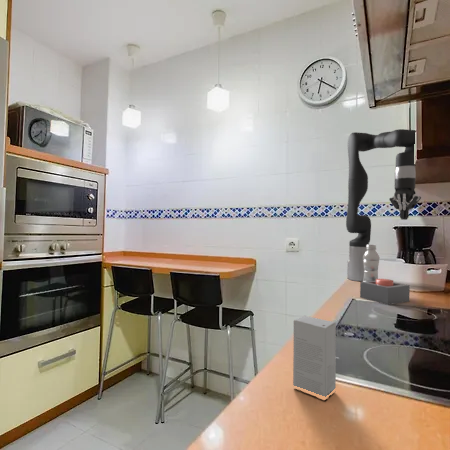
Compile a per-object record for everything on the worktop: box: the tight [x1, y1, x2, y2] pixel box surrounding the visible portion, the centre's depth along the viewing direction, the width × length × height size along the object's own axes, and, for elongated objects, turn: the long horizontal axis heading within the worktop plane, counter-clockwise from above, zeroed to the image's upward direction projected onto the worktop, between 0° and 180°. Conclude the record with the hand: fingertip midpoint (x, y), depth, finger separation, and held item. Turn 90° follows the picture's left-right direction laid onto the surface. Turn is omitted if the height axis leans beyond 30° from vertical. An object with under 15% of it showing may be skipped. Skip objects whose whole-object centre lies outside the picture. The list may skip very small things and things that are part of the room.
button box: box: [359, 281, 411, 306], centre depth 120 cm, size 12×12×6 cm
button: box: [376, 278, 394, 286], centre depth 120 cm, size 6×6×5 cm
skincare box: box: [292, 315, 337, 397], centre depth 54 cm, size 6×4×12 cm
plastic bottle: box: [362, 244, 380, 282], centre depth 132 cm, size 6×7×20 cm
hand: (404, 219), depth 131 cm, fingers closed
